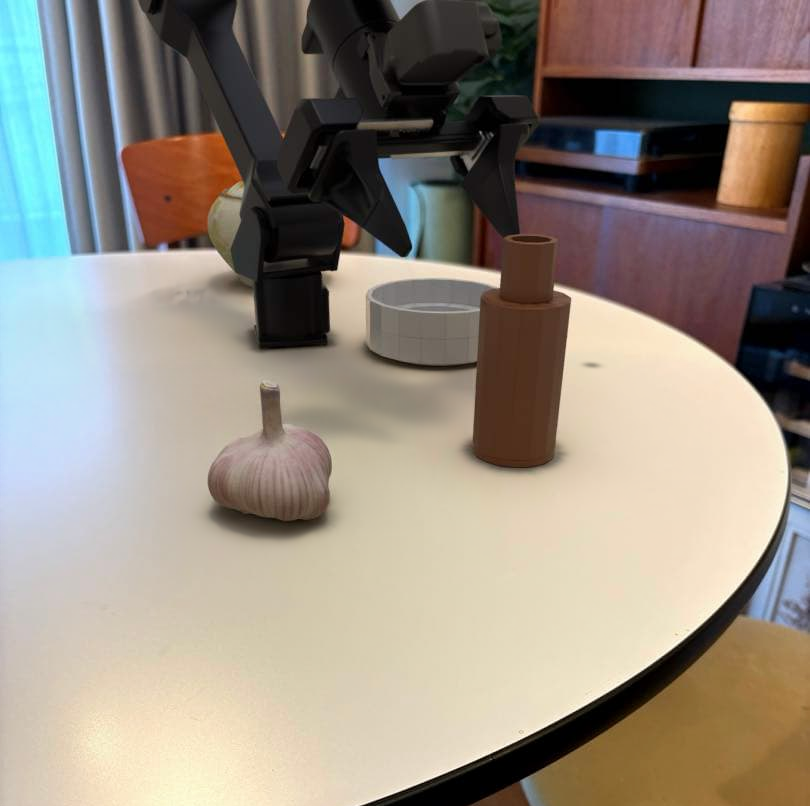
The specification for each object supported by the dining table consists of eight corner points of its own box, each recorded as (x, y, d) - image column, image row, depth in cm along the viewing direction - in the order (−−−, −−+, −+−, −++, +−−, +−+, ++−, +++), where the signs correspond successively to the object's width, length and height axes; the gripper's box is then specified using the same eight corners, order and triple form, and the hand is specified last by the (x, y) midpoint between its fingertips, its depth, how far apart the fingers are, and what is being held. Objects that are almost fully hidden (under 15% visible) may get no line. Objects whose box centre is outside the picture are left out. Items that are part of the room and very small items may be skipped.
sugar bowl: (345, 299, 93) (341, 153, 85) (209, 303, 91) (193, 154, 83) (331, 263, 110) (326, 138, 102) (216, 265, 108) (203, 138, 100)
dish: (382, 374, 71) (382, 316, 68) (355, 332, 82) (354, 281, 79) (525, 365, 73) (530, 308, 71) (480, 325, 84) (483, 275, 82)
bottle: (487, 471, 54) (502, 249, 47) (462, 437, 59) (472, 232, 52) (567, 463, 55) (593, 246, 48) (536, 431, 60) (555, 229, 53)
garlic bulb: (347, 529, 47) (344, 396, 43) (217, 546, 45) (201, 409, 41) (321, 474, 54) (315, 353, 50) (206, 487, 52) (191, 363, 48)
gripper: (286, -65, 46) (398, 168, 44) (532, -41, 56) (635, 152, 53) (238, 91, 56) (328, 290, 53) (455, 89, 65) (539, 258, 63)
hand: (463, 245), depth 55 cm, fingers open, 9 cm apart
